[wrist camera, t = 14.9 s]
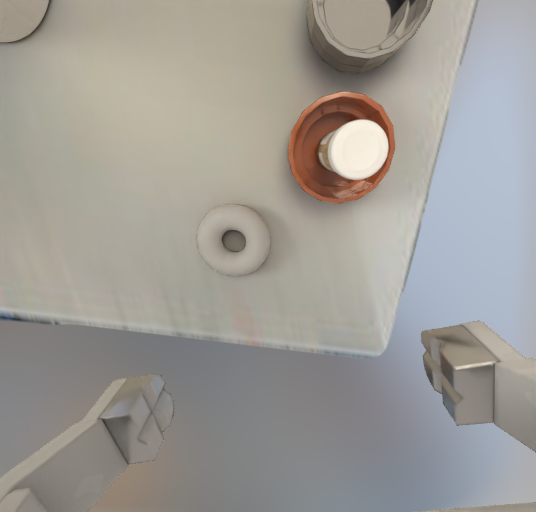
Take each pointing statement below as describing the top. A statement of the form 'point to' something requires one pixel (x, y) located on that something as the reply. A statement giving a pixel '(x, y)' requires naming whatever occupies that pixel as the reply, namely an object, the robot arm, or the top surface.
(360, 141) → the sprinkles bottle
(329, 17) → the charcoal bowl
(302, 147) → the terracotta bowl
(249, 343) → the top surface
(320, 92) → the top surface
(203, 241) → the donut
